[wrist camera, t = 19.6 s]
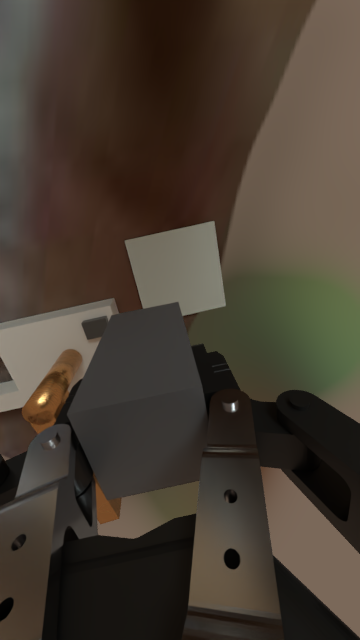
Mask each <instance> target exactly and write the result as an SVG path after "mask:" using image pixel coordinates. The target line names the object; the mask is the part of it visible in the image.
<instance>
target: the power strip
mask: <svg viewBox="0 0 360 640" xmlns="http://www.w3.org/2000/svg"><path fill="white" fill-rule="evenodd" d="M115 314H119V311H118V308H117V305H116V302H115V299H114V298H111V299H107V300H102V301H98V302H93V303H89V304H84V305H80V306H75V307H71V308H66V309H62V310H57V311H53V312H48V313H44V314H39V315H35V316H30V317H26V318H21V319H17V320H12V321H8V322H3V323H0V357H1V359H2V360H3V362H4V364H5V366H6V368H7V369H8V371H9V373H10V375H11V377H12V379H13V381H8V382H4V383H0V412H4V411H8V410H12V409H17V408H21V407H24V405H25V404H26V402H27V401H28V400H29V398H30V397H31V395H32V394H33V393H34V391H35V390H36V388H37V387H38V386H39V384H40V383H41V381H42V380H43V379H44V377H45V376H46V374H47V373H48V371H49V370H50V369H51V367H52V366H53V364H54V363H55V362H56V360H57V359H58V357H59V356H60V355H61V353H62V352H63V351H65V350H67V349H74V350H76V351H78V352H79V353H80V354H81V356H82V363H81V365H80V366H79V368H78V370H77V372H76V374H75V376H74V378H73V380H72V382H71V384H70V386H69V388H68V391H69V393H70V391H71V389H72V387H73V386H74V385H75V384H76V383H77V382H78V381H79V380H80V379H83V377H84V375H85V373H86V370H87V368H88V366H89V364H90V362H91V359H92V357H93V355H94V353H95V351H96V348H97V346H98V344H99V342H100V340H101V337H102V335H103V333H104V331H105V329H106V326H107V324H108V322H109V320H110V318H111V315H115Z"/></svg>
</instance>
